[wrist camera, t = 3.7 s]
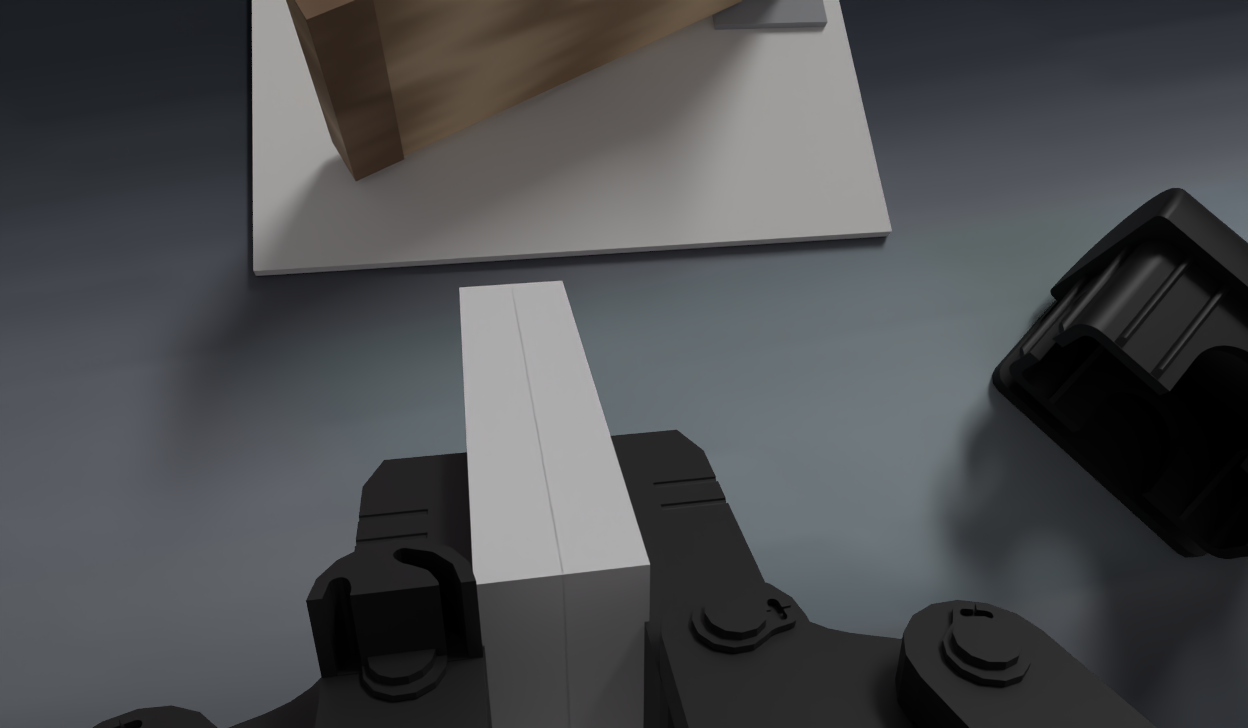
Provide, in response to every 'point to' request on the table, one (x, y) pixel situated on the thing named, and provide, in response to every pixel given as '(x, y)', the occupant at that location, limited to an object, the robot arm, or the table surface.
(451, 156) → the base
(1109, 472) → the end cap
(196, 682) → the table surface
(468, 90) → the gate
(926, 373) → the table surface
